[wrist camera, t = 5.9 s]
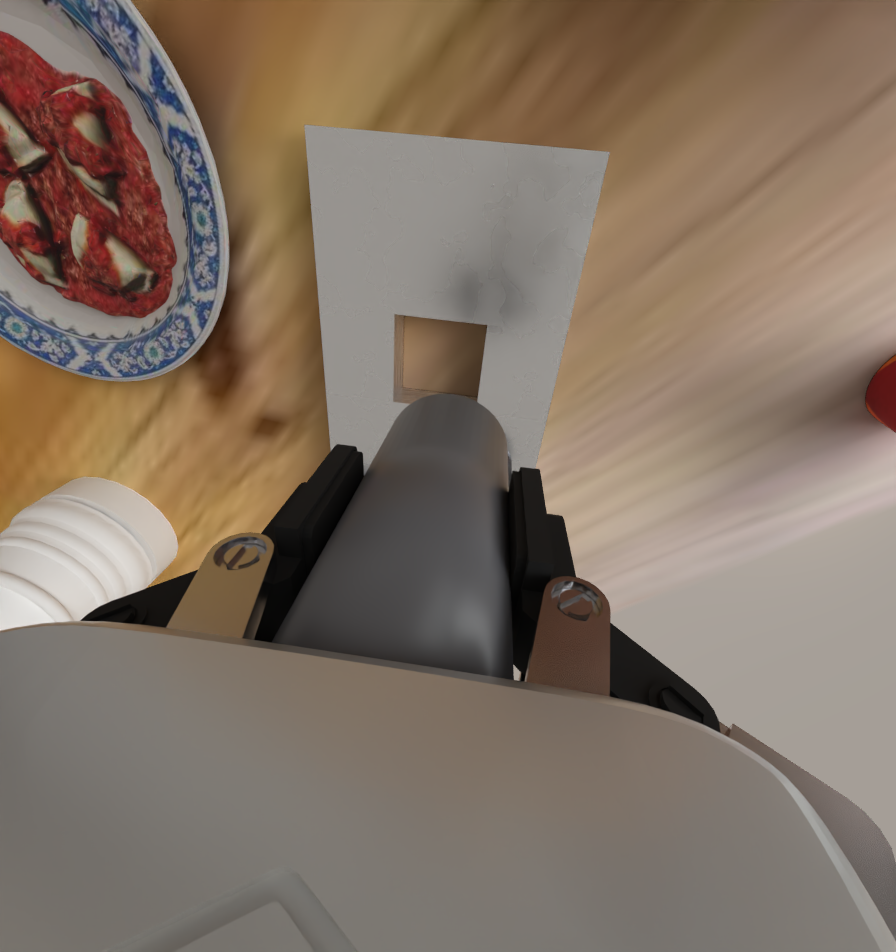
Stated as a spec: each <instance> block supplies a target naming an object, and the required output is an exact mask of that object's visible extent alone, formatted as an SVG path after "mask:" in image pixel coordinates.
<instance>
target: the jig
mask: <svg viewBox="0 0 896 952" xmlns="http://www.w3.org/2000/svg"><path fill="white" fill-rule="evenodd" d="M305 138H306V150H307V163H308V175H309V187H310V200H311V212H312V225H313V237H314V250H315V262H316V274H317V287H318V299H319V312H320V324H321V336H322V349H323V361H324V374H325V386H326V399H327V411H328V423H329V436H330V448H331V450H332V449H333V448H334V447H335V445H336V444H341V445H349V446H356V447H357V451H359V452H362V453H363V464H364V475H365V474H366V472H367V470H368V468H369V466H370V465H371V463H372V461H373V459H374V457H375V456H376V454H377V452H378V450H379V448H380V447H381V445H382V443H383V441H384V439H385V438H386V436H387V434H388V432H389V430H390V429H391V427H392V425H393V423H394V422H395V420H396V418H397V417H398V415H399V414H400V413H401V412H402V411H403V410H404V409H405V408H406V407H407V406H408V405H410V404H411V403H413V402H414V401H416V400H418V399H420V398H423V397H426V396H430V395H435V394H449V393H441V392H433V391H425V390H417V389H410V388H402V386H403V347H404V315H405V316H414V317H422V318H431V319H439V320H448V321H456V322H465V323H474V324H482V325H487V332H486V339H485V347H484V355H483V362H482V370H481V377H480V385H479V392H478V397H472V396H464V395H460V396H464V397H467V398H470V399H472V400H474V401H476V402H478V403H479V404H481V405H483V406H484V407H485V408H487V409H488V410H489V411H490V412H491V413H492V414H493V415H494V416H495V417H496V419H497V420H498V421H499V423H500V425H501V427H502V428H503V430H504V433H505V436H506V440H507V450H508V487H509V486H510V480H511V475H512V471H519V469H520V467H526V468H534V469H535V467H536V463H537V459H538V455H539V450H540V446H541V442H542V438H543V433H544V429H545V425H546V421H547V416H548V412H549V408H550V404H551V400H552V395H553V391H554V387H555V383H556V378H557V374H558V370H559V366H560V361H561V357H562V353H563V349H564V344H565V340H566V336H567V332H568V327H569V323H570V319H571V315H572V310H573V306H574V302H575V298H576V294H577V289H578V285H579V281H580V277H581V272H582V268H583V264H584V260H585V255H586V251H587V247H588V243H589V238H590V234H591V230H592V226H593V221H594V217H595V213H596V209H597V204H598V200H599V196H600V192H601V188H602V183H603V179H604V175H605V171H606V166H607V162H608V158H609V154H610V152H604V151H593V150H582V149H570V148H559V147H548V146H537V145H526V144H514V143H503V142H492V141H481V140H470V139H458V138H447V137H436V136H425V135H414V134H402V133H391V132H380V131H369V130H358V129H346V128H335V127H324V126H313V125H305ZM455 395H456V394H455Z"/></svg>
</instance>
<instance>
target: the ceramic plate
mask: <svg viewBox="0 0 896 952" xmlns="http://www.w3.org/2000/svg"><path fill="white" fill-rule="evenodd" d="M228 271H229V233H228V221H227V215H226V208H225V202H224V197H223V193H222V189H221V184H220V180H219V176H218V172H217V168H216V164H215V160H214V157H213V155H212V152H211V149H210V146H209V144H208V141H207V138H206V135H205V133H204V130H203V127H202V124H201V122H200V119H199V117H198V115H197V112H196V110H195V108H194V106H193V104H192V101H191V99H190V97H189V95H188V92H187V90H186V88H185V87H184V85H183V83H182V81H181V79H180V77H179V75H178V73H177V71H176V70H175V68H174V66H173V64H172V62H171V60H170V59H169V57H168V55H167V54H166V52H165V51H164V49H163V47H162V46H161V44H160V42H159V41H158V39H157V37H156V36H155V34H154V33H153V31H152V30H151V28H150V27H149V25H148V24H147V23H146V21H145V20H144V18H143V17H142V15H141V14H140V13H139V11H138V10H137V8H136V7H135V5H134V4H133V3H132V2H131V0H0V336H1V337H2V338H4V339H5V340H7V341H8V342H9V343H11V344H12V345H14V346H15V347H17V348H19V349H21V350H23V351H25V352H26V353H28V354H30V355H32V356H34V357H36V358H38V359H40V360H42V361H44V362H46V363H49V364H51V365H53V366H56V367H58V368H61V369H63V370H66V371H69V372H72V373H75V374H78V375H82V376H86V377H90V378H94V379H99V380H107V381H122V382H124V381H139V380H145V379H150V378H154V377H157V376H160V375H163V374H165V373H167V372H169V371H171V370H173V369H175V368H177V367H178V366H180V365H182V364H183V363H185V362H186V361H187V360H188V359H189V358H191V357H192V356H193V355H194V354H195V353H196V352H197V351H198V350H199V349H200V347H201V346H202V345H203V344H204V343H205V341H206V340H207V338H208V336H209V335H210V333H211V332H212V330H213V328H214V326H215V324H216V322H217V319H218V317H219V314H220V311H221V308H222V304H223V301H224V298H225V295H226V287H227V279H228Z"/></svg>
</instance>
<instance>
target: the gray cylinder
mask: <svg viewBox="0 0 896 952" xmlns="http://www.w3.org/2000/svg"><path fill="white" fill-rule="evenodd" d="M508 491H509V487H508V450H507V440H506V436H505V433H504V430H503V428H502V427H501V425H500V423H499V421H498V420H497V419H496V417H495V416H494V415H493V414H492V413H491V412H490V411H489V410H488V409H487V408H485V407H484V406H483V405H481V404H479V403H478V402H476V401H474V400H472V399H470V398H467V397H464V396H460V395H455V394H435V395H430V396H426V397H423V398H420V399H418V400H416V401H414V402H413V403H411V404H410V405H408V406H407V407H406V408H405V409H404V410H403V411H402V412H401V413H400V414H399V415H398V417H397V418H396V420H395V422H394V423H393V425H392V427H391V429H390V430H389V432H388V434H387V436H386V438H385V439H384V441H383V443H382V445H381V447H380V448H379V450H378V452H377V454H376V456H375V457H374V459H373V461H372V463H371V465H370V466H369V468H368V470H367V472H366V474H365V475H364V477H363V479H362V481H361V483H360V484H359V486H358V488H357V490H356V491H355V493H354V495H353V497H352V499H351V500H350V502H349V504H348V506H347V508H346V509H345V511H344V513H343V515H342V517H341V518H340V520H339V522H338V524H337V526H336V527H335V529H334V531H333V533H332V535H331V536H330V538H329V540H328V542H327V544H326V545H325V547H324V549H323V551H322V553H321V554H320V556H319V558H318V560H317V561H316V563H315V565H314V567H313V569H312V570H311V572H310V574H309V576H308V578H307V579H306V581H305V583H304V585H303V587H302V588H301V590H300V592H299V594H298V596H297V597H296V599H295V601H294V603H293V605H292V606H291V608H290V610H289V612H288V614H287V615H286V617H285V619H284V621H283V622H282V624H281V626H280V628H279V630H278V631H277V633H276V635H275V637H274V639H273V640H272V642H271V643H277V644H284V645H291V646H297V647H304V648H311V649H317V650H324V651H330V652H337V653H344V654H350V655H357V656H363V657H370V658H376V659H383V660H389V661H396V662H402V663H409V664H415V665H422V666H428V667H435V668H441V669H447V670H453V671H460V672H466V673H472V674H479V675H485V676H491V677H497V678H504V679H510V680H514V677H513V639H512V601H511V590H510V549H509V507H508Z"/></svg>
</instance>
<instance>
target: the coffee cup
mask: <svg viewBox="0 0 896 952" xmlns="http://www.w3.org/2000/svg"><path fill="white" fill-rule="evenodd" d="M865 402H866V406H867V409H868V411H869V412H870V413H871V414H872V415H873V416H874V417H875V418H876V419H877V420H879V421H880V422H881V423H883V424H884V425H885V426H887V427H888V428H890V429H891V430H893V431H894V432H896V355H895V356H893V357H892V358H891V359H889V360H888V361H887V362H886V363H885V364H884V365H883V366H882V367H881V368H880V369H879V370H878V371H877V372H876V374H875V375H874V377H873V378H872V380H871V381H870V383H869V386H868V388H867V391H866V397H865Z"/></svg>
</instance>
